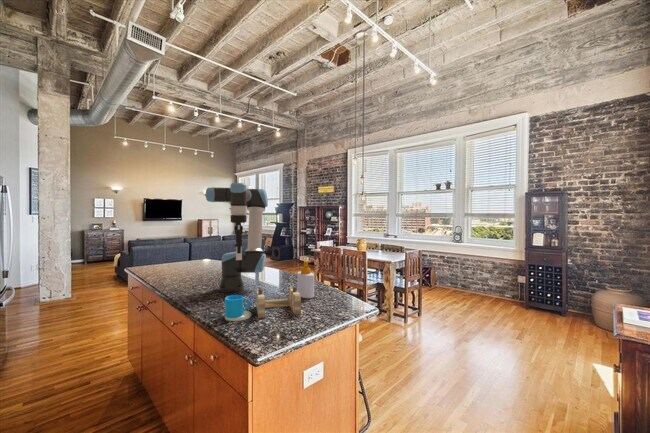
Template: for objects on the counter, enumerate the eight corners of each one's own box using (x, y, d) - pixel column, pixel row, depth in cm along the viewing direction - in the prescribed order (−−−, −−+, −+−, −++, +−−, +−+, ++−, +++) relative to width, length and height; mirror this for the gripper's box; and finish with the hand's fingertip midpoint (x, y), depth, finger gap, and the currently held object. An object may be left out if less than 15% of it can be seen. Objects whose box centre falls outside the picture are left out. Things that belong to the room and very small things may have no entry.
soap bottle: (317, 297, 169) (317, 262, 169) (305, 299, 164) (305, 263, 164) (305, 291, 180) (306, 259, 180) (294, 293, 175) (294, 260, 175)
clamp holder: (256, 306, 152) (256, 285, 151) (294, 303, 157) (294, 283, 157) (258, 318, 136) (258, 294, 136) (300, 314, 141) (301, 291, 141)
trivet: (225, 313, 142) (225, 311, 142) (250, 311, 145) (250, 309, 145) (224, 322, 130) (224, 320, 130) (251, 319, 133) (251, 318, 133)
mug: (229, 319, 131) (229, 301, 131) (222, 314, 138) (222, 297, 137) (253, 313, 139) (253, 296, 139) (245, 309, 146) (245, 292, 145)
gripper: (230, 213, 155) (231, 253, 156) (230, 215, 131) (230, 262, 132) (245, 213, 157) (245, 252, 158) (247, 215, 133) (247, 262, 135)
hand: (238, 257), depth 145 cm, fingers open, 13 cm apart
